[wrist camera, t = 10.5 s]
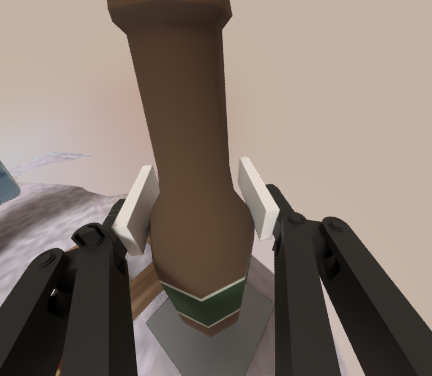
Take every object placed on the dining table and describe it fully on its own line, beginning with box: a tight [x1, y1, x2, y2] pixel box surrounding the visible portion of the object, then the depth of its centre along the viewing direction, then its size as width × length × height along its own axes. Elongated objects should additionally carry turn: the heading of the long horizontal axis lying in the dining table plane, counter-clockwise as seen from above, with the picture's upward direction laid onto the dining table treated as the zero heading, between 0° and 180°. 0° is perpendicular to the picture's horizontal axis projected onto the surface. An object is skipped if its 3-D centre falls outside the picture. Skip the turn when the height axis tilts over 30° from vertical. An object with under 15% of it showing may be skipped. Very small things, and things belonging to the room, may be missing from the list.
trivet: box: [146, 283, 275, 376], centre depth 24 cm, size 14×14×1 cm
